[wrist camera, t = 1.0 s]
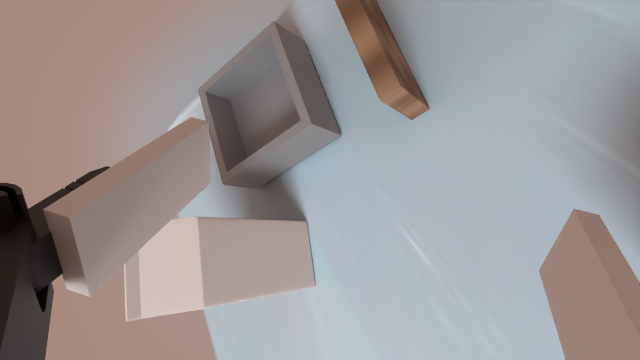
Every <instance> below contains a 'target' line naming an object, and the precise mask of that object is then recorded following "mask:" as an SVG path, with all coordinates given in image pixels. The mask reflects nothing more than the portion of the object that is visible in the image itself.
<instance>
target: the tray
mask: <svg viewBox="0 0 640 360" xmlns="http://www.w3.org/2000/svg"><path fill="white" fill-rule="evenodd" d="M198 91H199V95H200V99H201V103H202V106H203V110H204V114H205V118H206V121H208V122H209V133H210V137H211V141H212V144H213V148H214V152H215V156H216V160H217V163H218V167H219V171H220V175H221V179H222V182H223V184H224V185H232V186H239V187H247V188H255V189H258V188H260V187H261V186H263V185H264V184H266V183H267V182H269V181H271V180H272V179H274V178H275V177H277V176H279V175H280V174H282V173H283V172H285V171H286V170H288V169H290V168H291V167H293V166H294V165H296V164H297V163H299V162H301V161H302V160H304V159H305V158H307V157H308V156H310V155H312V154H313V153H315V152H316V151H318V150H319V149H321V148H323V147H324V146H326V145H327V144H329V143H330V142H332V141H334V140H335V139H337V138H338V137H340V136H341V133H340V131H339V128H338V125H337V123H336V120H335V118H334V115H333V113H332V110H331V108H330V105H329V103H328V100H327V98H326V95H325V93H324V90H323V87H322V85H321V82H320V80H319V77H318V75H317V72H316V70H315V67H314V65H313V62H312V60H311V57H310V55H309V52H308V50H307V47H306V44H305V42H304V41H302V40H301V39H299V38H298V37H296V36H295V35H293V34H292V33H290V32H289V31H288V30H286V29H285V28H283V27H282V26H280V25H279V24H277V23H276V22H272V23H271V24H270V25H269V26H268V27H267V28H266V29H265V30H263V31H262V32H261V33H260V34H259V35H258V36H257V37H256V38H255V39H253V40H252V41H251V42H250V43H249V44H248V45H247V46H246V47H244V48H243V49H242V50H241V51H240V52H239V53H238V54H237V55H236V56H235V57H233V58H232V59H231V60H230V61H229V62H228V63H227V64H226V65H224V66H223V67H222V68H221V69H220V70H219V71H218V72H217V73H216V74H214V75H213V76H212V77H211V78H210V79H209V80H208V81H207V82H205V83H204V84H203V85H202V86H201V87H200V88H199V89H198Z"/></svg>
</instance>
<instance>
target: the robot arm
mask: <svg viewBox="0 0 640 360" xmlns="http://www.w3.org/2000/svg"><path fill="white" fill-rule="evenodd" d="M209 183H210V148H209V122H208V121H204V120H200V119H196V118H189V119H187V120H186V121H184V122H183V123H181V124H179V125H178V126H176V127H175V128H173V129H171V130H170V131H168V132H167V133H165V134H164V135H162V136H160V137H159V138H157V139H155V140H154V141H152V142H150V143H149V144H147V145H146V146H144V147H142V148H141V149H139V150H138V151H136V152H134V153H133V154H132V155H130V156H128V157H126V158H125V159H123V160H122V161H120V162H118V163H117V164H115V165H114V166H112V167H108V166H107V167H104V168H101V169H97V170H94V171H91V172H89V173H87V174H86V175H84V176H83V177H81V178H79V179H77V180H76V182H72V183H71V184H69V185H67V186H66V187H65V189H61V190H59V191H57V192H56V193H54V194H52V195H51V196H49V197H47V198H46V199H44V200H42V201H41V202H39V203H37V204H36V205H34V206H32V207H31V208H29V209H28V208H27V205H26V202H25V199H24V195H23V192H22V189H21V188H20V187H18V186H17V185H14V184H9V183H0V360H45V355H46V347H47V339H48V332H49V324H50V316H51V309H52V301H53V293H54V291H53V286H52V281H53V280H55V279H56V278H57V277H58V276H60V275H61V274H62V275H63V278H64V281H65V285H66V288H67V289H69V290H72V291H74V292H78V293H80V294H83V295H87V296H89V297H90V296H91V295H93V294H94V293H95V292H96V291H97V290H98V289H99V288H100V287H101V286H102V285H103V284H104V283H105V282H106V281H107V280H108V279H109V278H110V277H111V276H113V275H114V274H115V273H116V272H117V271H118V270H119V269H120V268H121V267H122V266H123V265H124V264H125V263H126V262H127V261H128V260H129V259H130V258H131V257H132V256H134V255H135V254H136V253H137V252H138V251H139V250H140V249H141V248H142V247H143V246H144V245H145V244H146V243H147V242H148V241H149V240H150V239H151V238H152V237H154V236H155V235H156V234H157V233H158V232H159V231H160V230H161V229H162V228H163V227H164V226H165V225H166V224H167V223H168V222H169V221H170V220H171V219H172V218H174V216H175V215H177V214H178V213H179V212H180V211H181V210H182V209H183V208H184V207H185V206H186V205H187V204H188V203H189V202H190V201H191V200H192V199H193V198H195V197H196V196H197V195H198V194H199V193H200V192H201V191H202V190H203V189H204V188H205V187H206V186H207V185H208V184H209ZM539 272H540V275H541V279H542V282H543V285H544V289H545V292H546V295H547V299H548V302H549V305H550V309H551V312H552V315H553V319H554V322H555V325H556V329H557V332H558V335H559V339H560V342H561V345H562V349H563V352H564V355H565V359H566V360H640V283H639V281H638V279H637V278H636V276H635V274H634V273H633V271H632V269H631V268H630V266H629V264H628V263H627V261H626V259H625V258H624V256H623V254H622V253H621V251H620V249H619V248H618V246H617V244H616V243H615V241H614V239H613V238H612V236H611V234H610V233H609V231H608V229H607V228H606V226H605V224H604V223H603V221H602V219H601V218H600V216H599V215H597V214H593V213H588V212H584V211H580V210H576V209H573V211H572V213H571V215H570V217H569V218H568V220H567V222H566V224H565V225H564V227H563V229H562V231H561V232H560V234H559V236H558V238H557V240H556V241H555V243H554V245H553V247H552V248H551V250H550V252H549V254H548V256H547V257H546V259H545V261H544V263H543V264H542V266H541V268H540V270H539Z"/></svg>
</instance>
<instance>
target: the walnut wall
mask: <svg viewBox="0 0 640 360" xmlns="http://www.w3.org/2000/svg"><path fill="white" fill-rule="evenodd" d="M335 1H336V4H337V6H338V8H339V10H340V13H341V15H342V17H343V19H344V21H345V24H346V26H347V28H348V30H349V33H350V35H351V37H352V39H353V41H354V44H355V46H356V48H357V50H358V53H359V55H360V57H361V59H362V61H363V64H364V66H365V68H366V70H367V73H368V75H369V77H370V79H371V81H372V84H373V86H374V88H375V90H376V93H377V95H378V97H379V99H380V100H381V101H382V102H384V103H386V104H387V105H389V106H390V107H392V108H394V109H395V110H397V111H398V112H400V113H401V114H403V115H405V116H406V117H408V118H409V119H411V120H412V119H414V118H415V117H417V116H419V115H420V114H422V113H424V112H425V111H427V110H429V109H430V108H429V106H428V104H427V102H426V100H425V98H424V96H423V94H422V92H421V90H420V88H419V86H418V84H417V82H416V80H415V78H414V76H413V74H412V72H411V70H410V68H409V66H408V64H407V62H406V60H405V58H404V56H403V54H402V52H401V50H400V48H399V46H398V44H397V42H396V40H395V38H394V35H393V33H392V31H391V29H390V27H389V25H388V23H387V21H386V19H385V17H384V15H383V13H382V11H381V9H380V7H379V5H378V3H377V1H376V0H335Z"/></svg>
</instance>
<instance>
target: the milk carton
mask: <svg viewBox="0 0 640 360" xmlns="http://www.w3.org/2000/svg"><path fill="white" fill-rule="evenodd" d="M124 278H125V313H126V321H131V320H137V319H142V318H149V317H155V316H161V315H168V314H174V313H181V312H187V311H194V310H200V309H205V308H210V307H215V306H221V305H226V304H231V303H236V302H241V301H246V300H251V299H256V298H261V297H266V296H271V295H276V294H281V293H286V292H291V291H296V290H301V289H306V288H311V287H314V286H315V279H314V272H313V264H312V257H311V250H310V242H309V235H308V228H307V222H306V221H289V220H263V219H238V218H213V217H189V218H181V219H174V220H170V221H169V222H168V223H167V224H166V225H165V226H164V227H163V228H162V229H161V230H160V231H159V232H158V233H157V234H156V235H155V236H154V237H152V238H151V239H150V240H149V241H148V242H147V243H146V244H145V245H144V246H143V247H142V248H141V249H140V250H139V251H138V252H137V253H136V254H135V255H134V256H132V257H131V258H130V259H129V260H128V261H127V262H126V263H125V264H124Z"/></svg>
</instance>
